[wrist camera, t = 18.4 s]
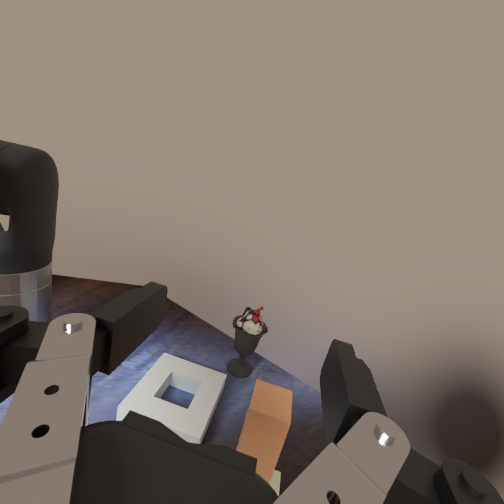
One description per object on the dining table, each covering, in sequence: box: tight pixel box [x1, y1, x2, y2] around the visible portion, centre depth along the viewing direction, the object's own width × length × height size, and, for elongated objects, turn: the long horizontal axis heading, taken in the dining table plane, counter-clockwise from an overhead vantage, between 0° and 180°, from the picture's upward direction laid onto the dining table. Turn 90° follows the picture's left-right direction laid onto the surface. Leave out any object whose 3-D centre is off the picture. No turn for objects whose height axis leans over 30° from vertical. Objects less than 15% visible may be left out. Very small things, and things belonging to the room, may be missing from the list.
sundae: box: [227, 307, 268, 378], centre depth 49 cm, size 7×7×15 cm
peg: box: [236, 379, 292, 483], centre depth 28 cm, size 4×4×15 cm
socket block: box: [116, 353, 227, 444], centre depth 40 cm, size 12×12×3 cm
